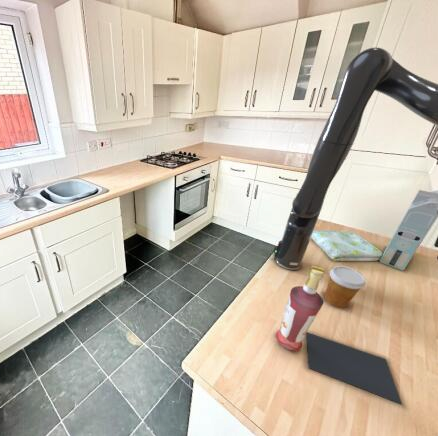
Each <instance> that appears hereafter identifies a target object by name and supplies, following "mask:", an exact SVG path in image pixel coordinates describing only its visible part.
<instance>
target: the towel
mask: <svg viewBox="0 0 438 436" xmlns="http://www.w3.org/2000/svg"><path fill="white" fill-rule="evenodd" d="M310 239H312V240H313V242H314V243H315V244H316V245H317V246H318V247H319V248H320V249H321V250H323V252H324V253H325V254H326V255H327V256H328V257H329V258H330V259H331V260H332V261H334V262H376V261H379V260H380V258H381V257H382V255H383V252H382V251H381V250H380V249H379V248H377V247H376V246H375V245H373V244H372V243H370V241H368V240H366V239H365V238H363V237H361V236H360V235H358V234H357V233H354V232H352V231H336V230H313V233H312V236H311V238H310Z"/></svg>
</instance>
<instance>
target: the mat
mask: <svg viewBox="0 0 438 436" xmlns="http://www.w3.org/2000/svg"><path fill="white" fill-rule="evenodd" d="M305 339H306V340H305V341H306V351H307V352H306V353H307V366H308V369H309V370H312V371H314V372H317V373H320V374H323V375H325V376H327V377H329V378H332V379H335V380H337V381H340V382H342V383H344V384H348V385H350V386H353V387H355V388H357V389H360V390H363V391H366V392H368V393H370V394H373V395H376V396H378V397H381V398H384V399H386V400H388V401H390V402H394V403H396V404H398V405H402V404H403V403H402V401H401V398H400V395H399V392H398V390H397V386H396V384H395V380H394V378H393V376H392V372H391V370H390V367H389V364H388V361H387V359H386V358H385V357H381V356H379V355H376V354H373V353H369V352H367V351H363V350H360V349H357V348H355V347H352V346H348V345H346V344H343V343H340V342H337V341H333V340H331V339H329V338H325V337H322V336H319V335H316V334H314V333H311V332H309V331H307V333H306V335H305Z"/></svg>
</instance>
